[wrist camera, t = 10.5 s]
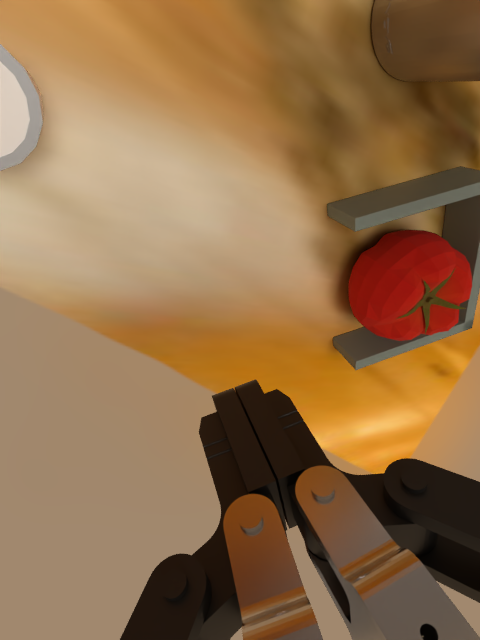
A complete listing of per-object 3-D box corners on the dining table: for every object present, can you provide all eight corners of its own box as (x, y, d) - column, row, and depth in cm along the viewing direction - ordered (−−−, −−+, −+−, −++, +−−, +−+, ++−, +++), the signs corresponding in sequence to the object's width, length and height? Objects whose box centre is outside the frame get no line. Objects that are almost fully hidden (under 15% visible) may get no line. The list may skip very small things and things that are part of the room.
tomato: (318, 271, 41) (366, 312, 34) (411, 198, 40) (481, 223, 33) (356, 331, 47) (404, 377, 40) (438, 269, 46) (503, 303, 39)
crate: (460, 166, 40) (502, 175, 36) (440, 308, 50) (471, 327, 46) (327, 203, 38) (355, 218, 34) (333, 345, 47) (355, 370, 43)
